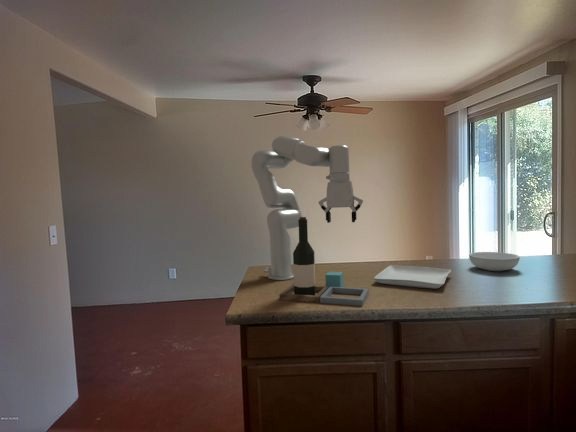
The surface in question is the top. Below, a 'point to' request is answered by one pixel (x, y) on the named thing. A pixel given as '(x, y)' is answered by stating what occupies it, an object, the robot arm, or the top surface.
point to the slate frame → (345, 301)
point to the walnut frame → (307, 298)
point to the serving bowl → (494, 260)
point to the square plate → (413, 276)
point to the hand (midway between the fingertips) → (341, 222)
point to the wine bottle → (304, 263)
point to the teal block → (334, 279)
